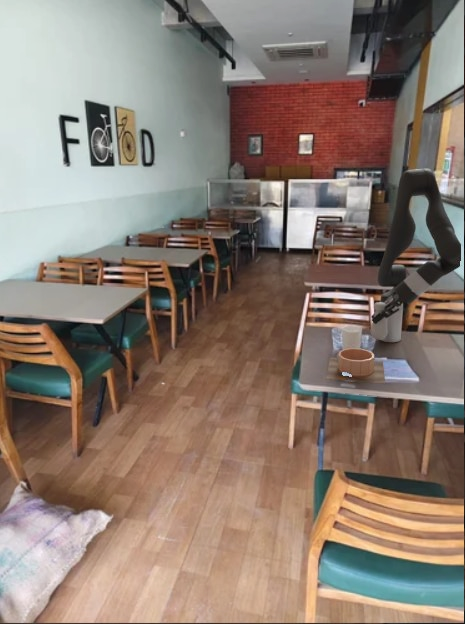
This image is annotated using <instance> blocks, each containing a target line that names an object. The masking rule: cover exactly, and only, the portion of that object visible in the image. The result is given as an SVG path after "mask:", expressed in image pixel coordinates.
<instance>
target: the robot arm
mask: <svg viewBox="0 0 465 624" xmlns="http://www.w3.org/2000/svg"><path fill="white" fill-rule="evenodd" d="M419 196H425V198H426V199H427V202H428V206H427V211H426V214H425V225H426V228H427V229H428V231H429V233H430V237H431V238H432V240H433V242H434V246H435V248H436V251H437V254H438V256H439V257H438V258H437V259H435V260H434V261H433V260H432V261H431V260H428V261H425V262H424V263H422V265H421V266H419V268H417V269H416V270H415V271H414V272H411V273H410V274H409V275H408V276H407V269H406V267H405V265H404V264H395V262H396V261H397V260H398V258H399V257H400V256H401V255H402V254H403V253H404V252H405V251H406V250H408V248H409V247H411V245H412V243H413V240H414V237H415V233H416V228H417V227H416V226H417V225H416V223H415V220H414V217H413V215H412V212H411V211H410V203H411V199H412V197H419ZM395 200H396V201H395V208H394V211H393V216H392V220H391V223H390V224H391V225H390V228H389V232H388V236H387V242H386V244H385V245H386V247H385V250H384V253H383V257H382V259H381V262H380V265H379V268H378V272H377V282H378V283H377V284H378V285H379V286H380V287H383V288H389V287H390V288H391V287H392V288H391V289H390V290H387V292H385V293H382V294H381V295H380V302H383V303H385V304H386V305H385V306H384V309H383V310H382V311H380V313H379V314H377V315H376V316H375V317H374V315H375V312H374V313H373V314H372V315H371V322H372V323H373V322H374V323H375V324H377V322H379V321H380V320H382V319H383V318H386V323H387V330H388V333H387V335H386V337H385V338H384V339H382V340H380V341H382V342H385V343H397V342H400V341H401V339H402V337H401V336H402V324H403V311H404V303H406V304H407V305H411V304H412V303H414V302H415V301H416V300H417V299H418V298H420V297H421V295H423V294H424V293H425V292H426V291H427V290H428V289H429V288H430V287H431V286H432V285H434V284H435V283H436V282H438V280H440V279H441V278H442V277H445V276H446V275H448V274H450V273H452V272H453V271H455V270H457V269H458V268H460V267H461V266H460V261H461V245H462V243H461V242H460V241H459V239H458V237H457V235H456V232H455V228H454V225H453V224H452V221H451V220H450V218H449V216H448V213H447V212H446V209H445V206H444V204H443V203H444V202H443V199H442V196H441V192H440V189H439V185H438V181H437V178H436V176H435V173H434V172H433V170H431V169H430V168H419V169H417V168H415V169H409V170H406V171H404V172H402V174H401V176H400V179H399V181H398V187H397V194H396V199H395Z"/></svg>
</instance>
